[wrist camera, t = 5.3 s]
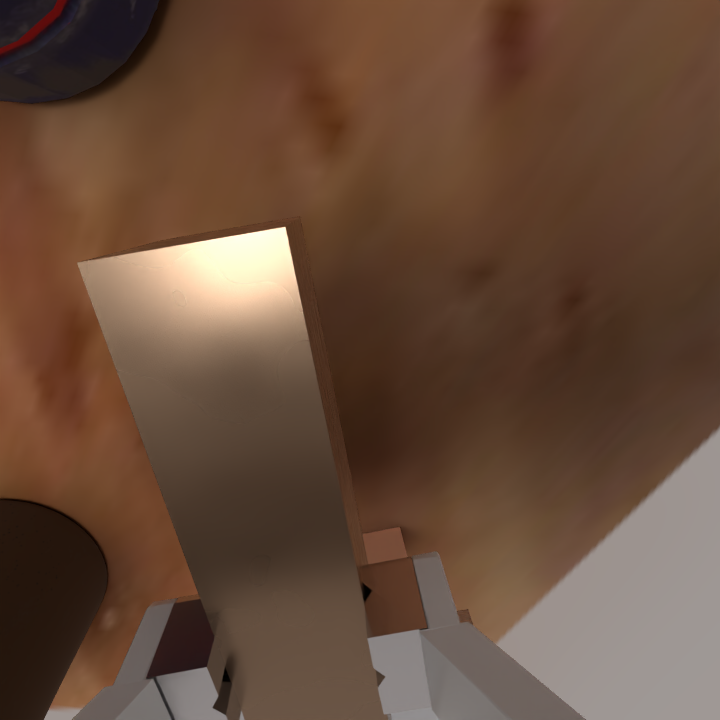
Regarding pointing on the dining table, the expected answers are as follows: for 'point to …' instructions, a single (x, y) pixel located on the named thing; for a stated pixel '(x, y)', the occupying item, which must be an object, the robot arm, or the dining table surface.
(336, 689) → the turner
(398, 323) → the dining table surface
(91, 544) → the olive oil
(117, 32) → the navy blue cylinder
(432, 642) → the robot arm
